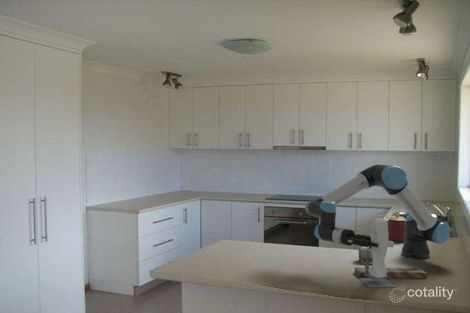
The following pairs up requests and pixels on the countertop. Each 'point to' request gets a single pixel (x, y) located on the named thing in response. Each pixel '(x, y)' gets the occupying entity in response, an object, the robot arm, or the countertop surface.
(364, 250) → the ceramic mug
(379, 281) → the end pad
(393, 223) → the canister
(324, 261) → the countertop surface
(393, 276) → the walnut board
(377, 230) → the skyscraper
